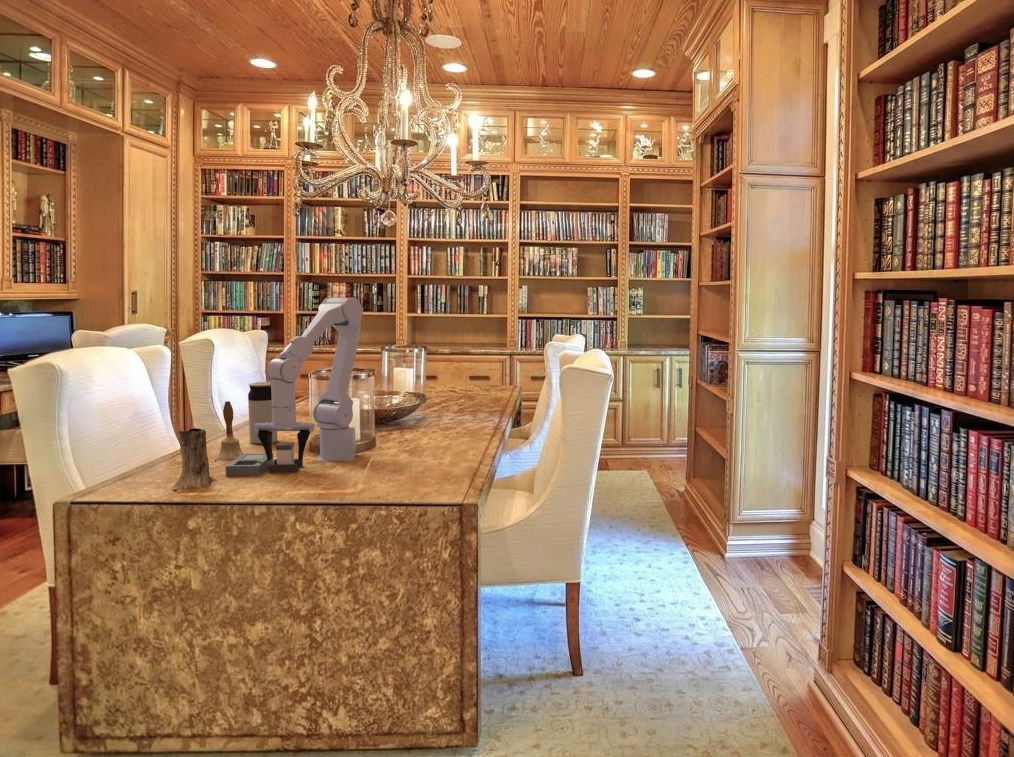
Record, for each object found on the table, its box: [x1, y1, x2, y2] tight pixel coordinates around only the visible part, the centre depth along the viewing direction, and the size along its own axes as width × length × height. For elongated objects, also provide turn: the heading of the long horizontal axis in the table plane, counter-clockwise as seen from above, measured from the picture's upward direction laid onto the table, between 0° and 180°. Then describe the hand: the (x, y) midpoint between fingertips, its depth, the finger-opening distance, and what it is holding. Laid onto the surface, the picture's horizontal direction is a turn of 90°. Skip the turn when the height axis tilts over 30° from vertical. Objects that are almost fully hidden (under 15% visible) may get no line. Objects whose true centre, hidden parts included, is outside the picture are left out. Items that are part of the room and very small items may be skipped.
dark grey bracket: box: [267, 458, 304, 474], centre depth 183 cm, size 7×7×2 cm
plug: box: [275, 441, 295, 465], centre depth 182 cm, size 4×4×6 cm
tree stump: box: [171, 427, 218, 491], centre depth 168 cm, size 10×10×13 cm
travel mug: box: [247, 381, 278, 445], centre depth 218 cm, size 8×8×18 cm
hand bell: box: [214, 400, 245, 462], centre depth 195 cm, size 8×8×16 cm
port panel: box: [225, 452, 274, 477], centre depth 183 cm, size 8×14×3 cm, turn 5°
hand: (285, 459), depth 182 cm, fingers open, 7 cm apart
